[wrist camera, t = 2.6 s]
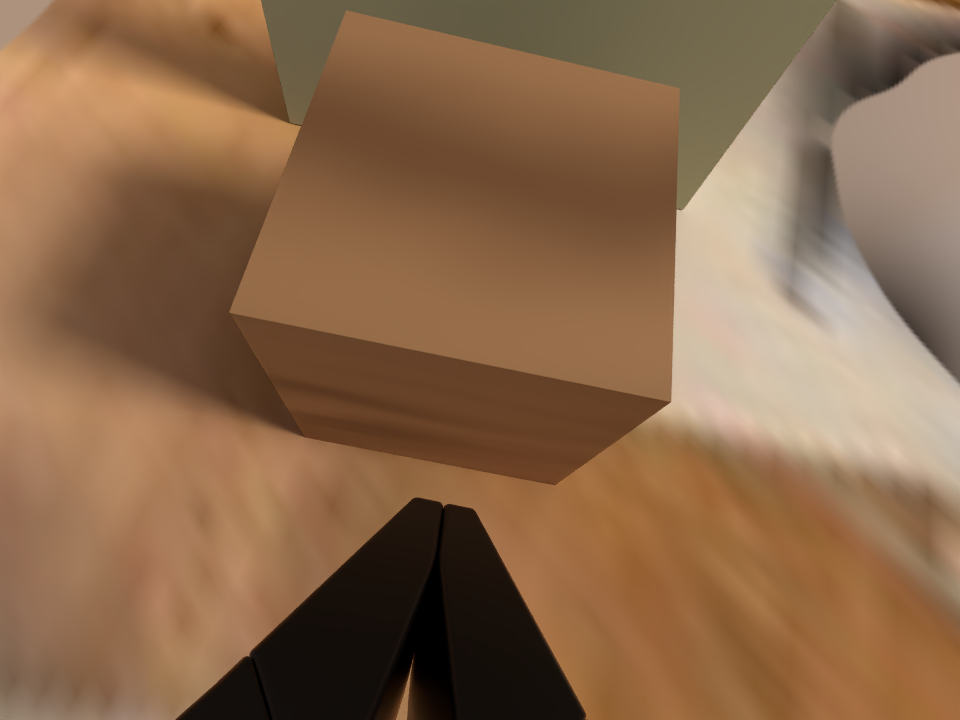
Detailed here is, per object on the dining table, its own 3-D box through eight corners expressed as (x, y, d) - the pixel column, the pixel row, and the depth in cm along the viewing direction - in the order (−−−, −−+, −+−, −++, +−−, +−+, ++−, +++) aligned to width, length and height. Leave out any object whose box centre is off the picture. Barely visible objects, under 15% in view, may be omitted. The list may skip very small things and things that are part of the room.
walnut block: (554, 485, 18) (671, 401, 10) (304, 437, 18) (228, 312, 10) (577, 274, 21) (679, 88, 13) (366, 229, 21) (346, 10, 13)
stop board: (682, 210, 23) (870, -47, 14) (289, 122, 22) (210, -213, 13) (683, 172, 24) (861, -95, 15) (304, 86, 23) (239, -254, 14)
